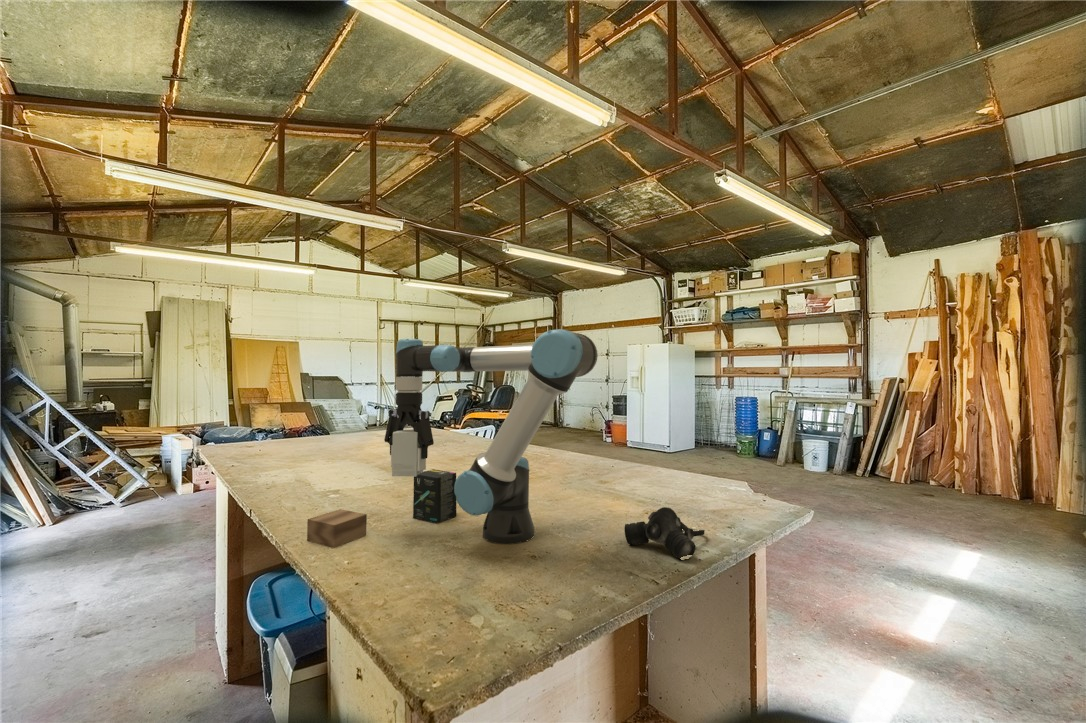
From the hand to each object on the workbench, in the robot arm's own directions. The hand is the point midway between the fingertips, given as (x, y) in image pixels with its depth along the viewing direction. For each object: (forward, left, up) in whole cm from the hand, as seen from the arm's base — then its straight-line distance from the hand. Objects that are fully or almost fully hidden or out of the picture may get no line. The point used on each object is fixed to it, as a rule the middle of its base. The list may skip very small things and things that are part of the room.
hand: (408, 468), depth 136 cm
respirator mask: (-70, -31, -20) cm, 79 cm away
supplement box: (0, 0, -2) cm, 2 cm away
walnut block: (+16, +11, -19) cm, 27 cm away
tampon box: (+4, -17, -20) cm, 26 cm away
